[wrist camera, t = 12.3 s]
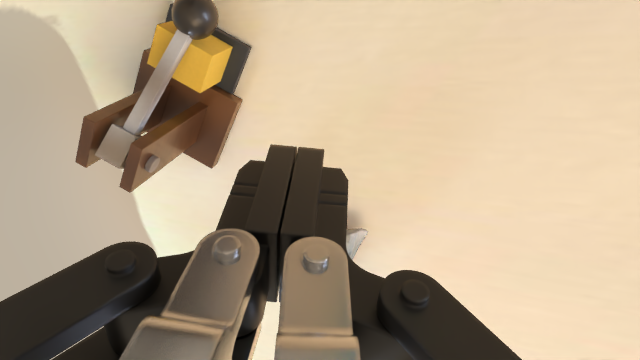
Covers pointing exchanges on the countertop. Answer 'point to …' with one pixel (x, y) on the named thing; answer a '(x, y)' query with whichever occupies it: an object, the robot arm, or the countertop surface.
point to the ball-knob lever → (160, 76)
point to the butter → (203, 58)
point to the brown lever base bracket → (164, 127)
